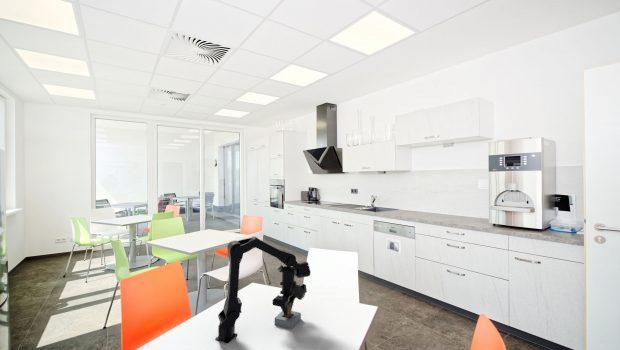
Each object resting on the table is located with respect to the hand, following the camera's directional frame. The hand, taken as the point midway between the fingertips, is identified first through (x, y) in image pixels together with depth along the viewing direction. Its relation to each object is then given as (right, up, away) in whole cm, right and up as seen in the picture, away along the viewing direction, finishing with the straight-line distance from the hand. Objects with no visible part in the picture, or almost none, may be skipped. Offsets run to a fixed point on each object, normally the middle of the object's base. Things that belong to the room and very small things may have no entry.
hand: (287, 313), depth 127 cm
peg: (0, -4, 0) cm, 4 cm away
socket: (0, -4, 0) cm, 4 cm away
